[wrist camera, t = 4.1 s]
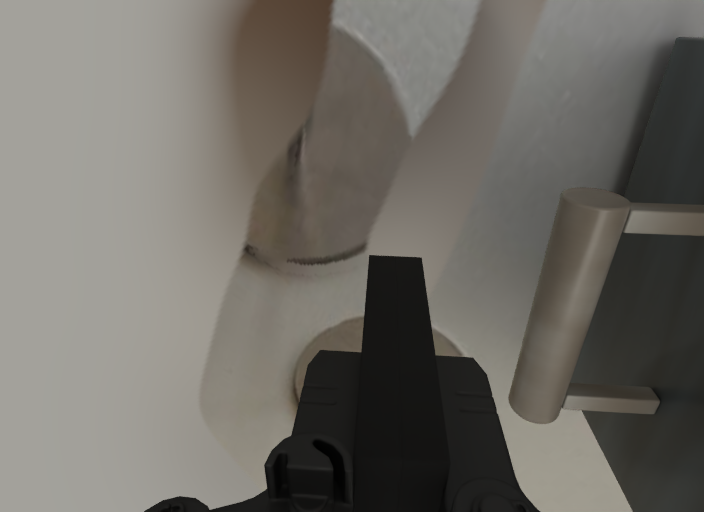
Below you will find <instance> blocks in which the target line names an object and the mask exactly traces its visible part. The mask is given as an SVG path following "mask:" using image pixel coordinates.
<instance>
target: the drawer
mask: <svg viewBox="0 0 704 512" xmlns="http://www.w3.org/2000/svg"><path fill="white" fill-rule="evenodd" d="M509 403H510V405H511V407H512V409H513V410H514V411H515V412H516V413H517V414H518V415H519V416H520V417H522V418H523V419H525V420H527V421H530V422H533V423H537V424H547V423H550V422H553V421H554V420H555V419H557V417H558V415H559V413H560V410H561V407H562V408H563V409H569V410H582V412H583V414H584V416H585V418H586V420H587V422H588V424H589V426H590V428H591V430H592V432H593V434H594V436H595V438H596V440H597V442H598V444H599V446H600V448H601V450H602V452H603V453H604V455H605V457H606V459H607V461H608V463H609V465H610V467H611V469H612V471H613V473H614V475H615V477H616V479H617V481H618V483H619V485H620V487H621V489H622V491H623V493H624V495H625V497H626V499H627V501H628V503H629V505H630V507H631V509H632V511H633V512H704V37H679V38H677V39H676V41H675V44H674V47H673V50H672V53H671V56H670V59H669V62H668V65H667V68H666V71H665V74H664V77H663V80H662V83H661V86H660V89H659V92H658V95H657V98H656V101H655V104H654V107H653V110H652V113H651V116H650V119H649V122H648V125H647V128H646V131H645V134H644V137H643V140H642V143H641V146H640V149H639V152H638V155H637V158H636V161H635V164H634V167H633V170H632V173H631V176H630V179H629V182H628V185H627V188H626V191H625V194H624V197H623V196H621V195H618V194H616V193H613V192H610V191H606V190H602V189H596V188H586V187H577V188H569V189H566V190H564V191H563V192H562V193H561V196H560V200H559V203H558V207H557V211H556V215H555V219H554V223H553V227H552V231H551V234H550V238H549V242H548V246H547V250H546V254H545V258H544V262H543V265H542V269H541V273H540V277H539V281H538V285H537V289H536V293H535V296H534V300H533V304H532V308H531V312H530V316H529V320H528V324H527V327H526V331H525V335H524V339H523V343H522V347H521V351H520V354H519V358H518V362H517V366H516V370H515V374H514V378H513V382H512V385H511V389H510V393H509Z"/></svg>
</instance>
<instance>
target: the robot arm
mask: <svg viewBox="0 0 704 512" xmlns="http://www.w3.org/2000/svg"><path fill="white" fill-rule="evenodd" d="M496 411H497V409H496V406H495V402H494V399H493V397H492V392H491V388H490V384H489V381H488V377H487V374H486V373H485V372H484V371H483V369H482V368H481V367H480V366H479V364H478V363H477V362H476V361H475V360H474V358H469V357H452V356H435V349H434V342H433V335H432V328H431V321H430V314H429V307H428V300H427V293H426V286H425V279H424V271H423V264H422V258H417V257H396V256H375V255H369V266H368V278H367V291H366V303H365V315H364V328H363V340H362V352H344V351H327V350H320V351H319V352H318V354H317V355H316V356H315V357H314V358H313V360H312V361H311V362H310V363H309V364H308V367H307V371H306V376H305V380H304V386H303V388H302V393H301V397H300V402H299V405H298V410H297V414H296V418H295V422H294V427H293V431H292V435H291V436H290V437H288V438H285V439H284V440H282V441H281V442H280V443H279V444H278V445H277V446H276V447H275V448H274V449H273V450H272V451H271V453H270V455H269V457H268V459H267V461H266V463H265V465H264V466H265V474H266V481H267V489H266V490H265V491H264V492H262V493H260V494H259V495H257V496H256V497H254V498H251V499H248V500H246V501H243V502H240V503H236V504H232V505H228V506H224V507H220V508H216V509H212V510H209V508H208V506H206V505H205V504H203V503H202V502H200V501H199V500H197V499H196V498H189V497H181V496H179V497H175V498H171V499H167V500H163V501H161V502H159V503H158V504H156V505H154V506H153V507H151V508H149V509H147V510H146V511H144V512H540V511H539V510H538V509H537V508H536V507H535V506H534V505H533V504H532V503H531V502H530V501H529V500H528V498H527V497H526V496H525V495H524V493H523V492H522V490H521V489H520V487H519V484H518V482H517V479H516V477H515V474H514V470H513V466H512V463H511V459H510V456H509V452H508V449H507V445H506V441H505V438H504V434H503V431H502V427H501V424H500V420H499V416H498V414H497V412H496Z"/></svg>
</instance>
